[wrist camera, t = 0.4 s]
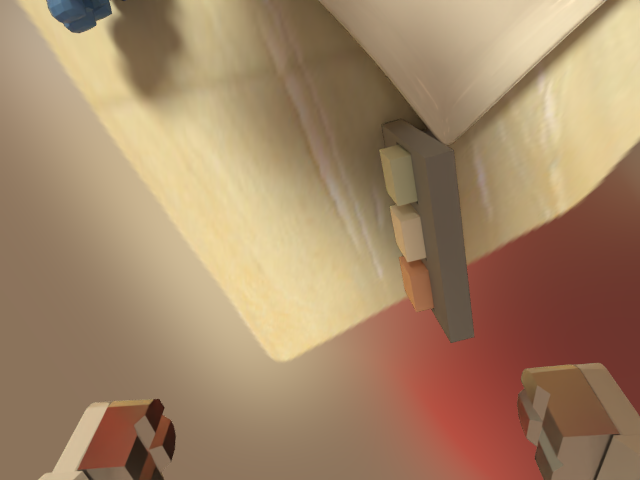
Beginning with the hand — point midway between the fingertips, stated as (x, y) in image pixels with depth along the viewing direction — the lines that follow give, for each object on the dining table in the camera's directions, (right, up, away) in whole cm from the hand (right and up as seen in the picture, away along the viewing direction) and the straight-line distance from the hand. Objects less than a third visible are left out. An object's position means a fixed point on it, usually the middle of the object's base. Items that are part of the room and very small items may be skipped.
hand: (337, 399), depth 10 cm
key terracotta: (+11, 0, +43) cm, 44 cm away
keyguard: (+13, +10, +46) cm, 49 cm away
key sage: (+8, +12, +37) cm, 40 cm away
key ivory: (+10, +6, +40) cm, 42 cm away
